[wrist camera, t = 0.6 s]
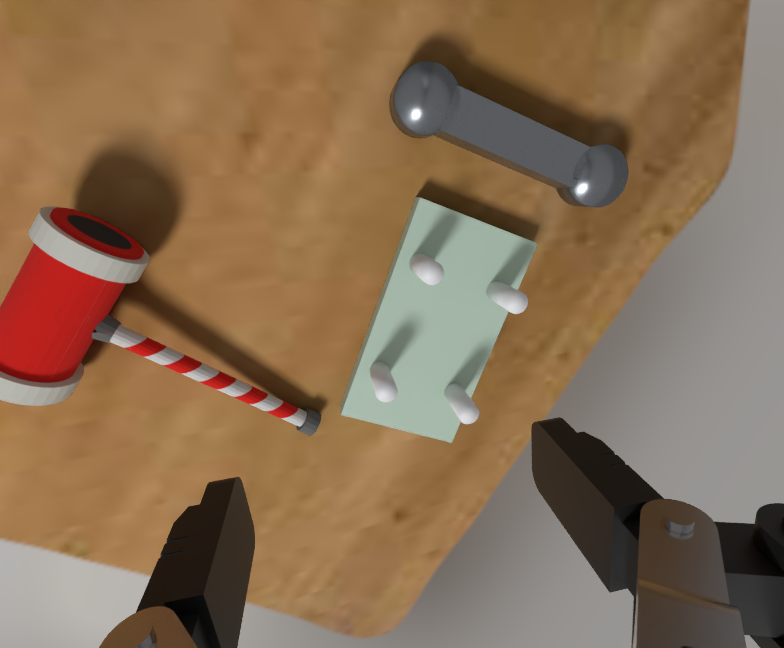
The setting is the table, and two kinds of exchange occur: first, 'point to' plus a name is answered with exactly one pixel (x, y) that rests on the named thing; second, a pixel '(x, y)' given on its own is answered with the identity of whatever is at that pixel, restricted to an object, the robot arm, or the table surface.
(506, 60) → the table surface
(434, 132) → the grey ball-ended rod
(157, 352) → the toy hammer
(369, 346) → the tool rack
